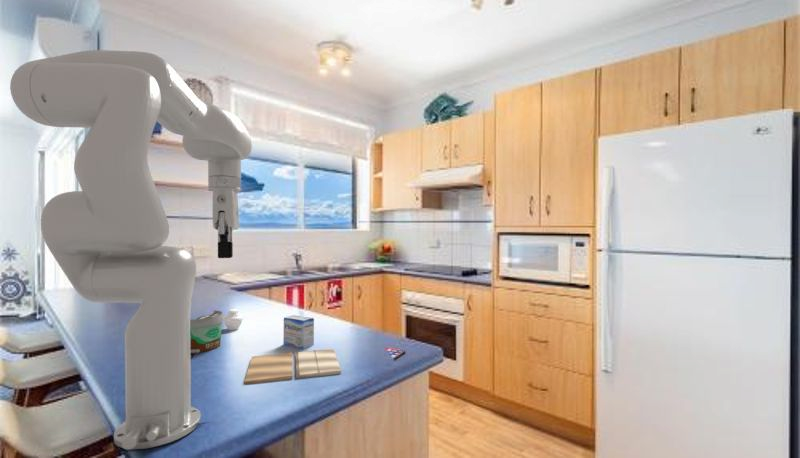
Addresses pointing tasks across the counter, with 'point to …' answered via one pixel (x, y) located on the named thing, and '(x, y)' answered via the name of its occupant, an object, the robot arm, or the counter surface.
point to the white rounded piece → (233, 319)
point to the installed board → (316, 363)
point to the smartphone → (395, 352)
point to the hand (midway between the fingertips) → (225, 257)
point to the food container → (205, 332)
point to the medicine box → (298, 331)
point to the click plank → (270, 368)
